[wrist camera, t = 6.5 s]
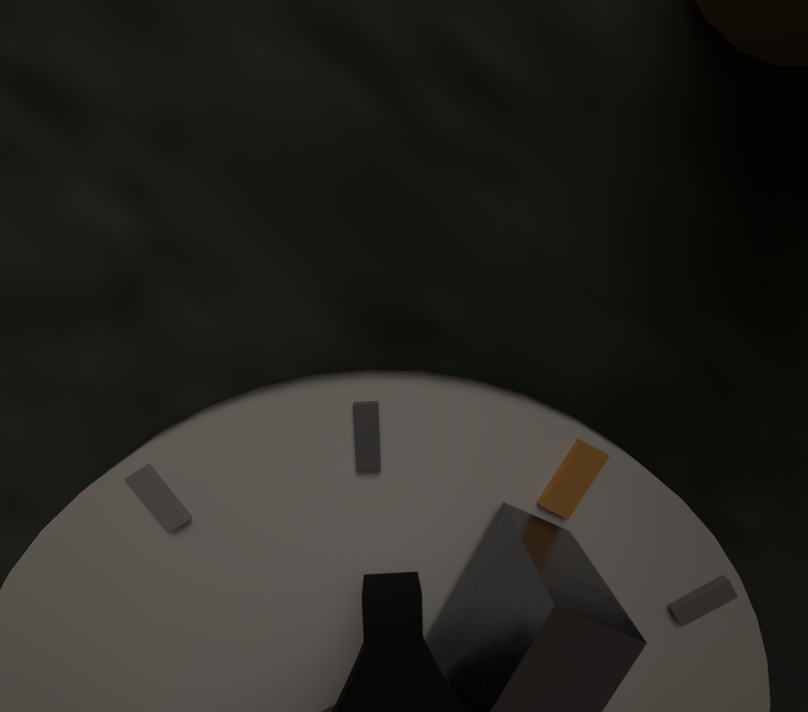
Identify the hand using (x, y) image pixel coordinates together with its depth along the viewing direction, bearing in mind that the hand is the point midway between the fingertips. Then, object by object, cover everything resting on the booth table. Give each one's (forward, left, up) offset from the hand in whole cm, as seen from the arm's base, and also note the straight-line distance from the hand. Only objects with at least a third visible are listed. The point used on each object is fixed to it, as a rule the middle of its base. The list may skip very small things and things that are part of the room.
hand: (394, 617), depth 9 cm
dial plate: (-3, -4, -3) cm, 6 cm away
